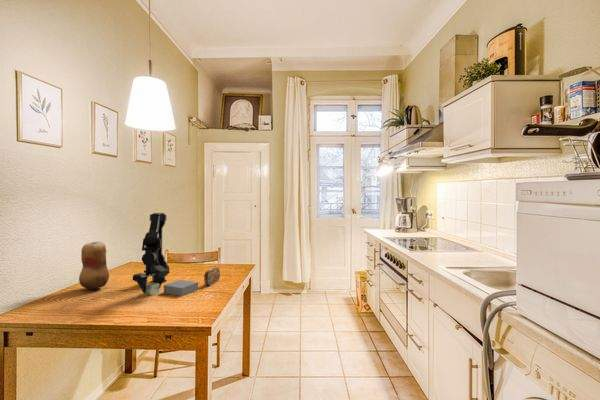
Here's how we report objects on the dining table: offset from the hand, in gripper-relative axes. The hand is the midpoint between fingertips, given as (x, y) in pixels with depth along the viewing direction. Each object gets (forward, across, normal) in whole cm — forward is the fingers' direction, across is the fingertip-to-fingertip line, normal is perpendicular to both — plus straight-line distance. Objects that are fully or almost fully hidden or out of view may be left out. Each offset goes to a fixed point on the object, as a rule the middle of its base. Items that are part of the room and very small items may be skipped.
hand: (151, 290), depth 170 cm
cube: (+2, 0, 0) cm, 2 cm away
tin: (+2, +28, -16) cm, 32 cm away
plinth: (+1, +9, -11) cm, 14 cm away
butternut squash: (+2, -7, +33) cm, 34 cm away
